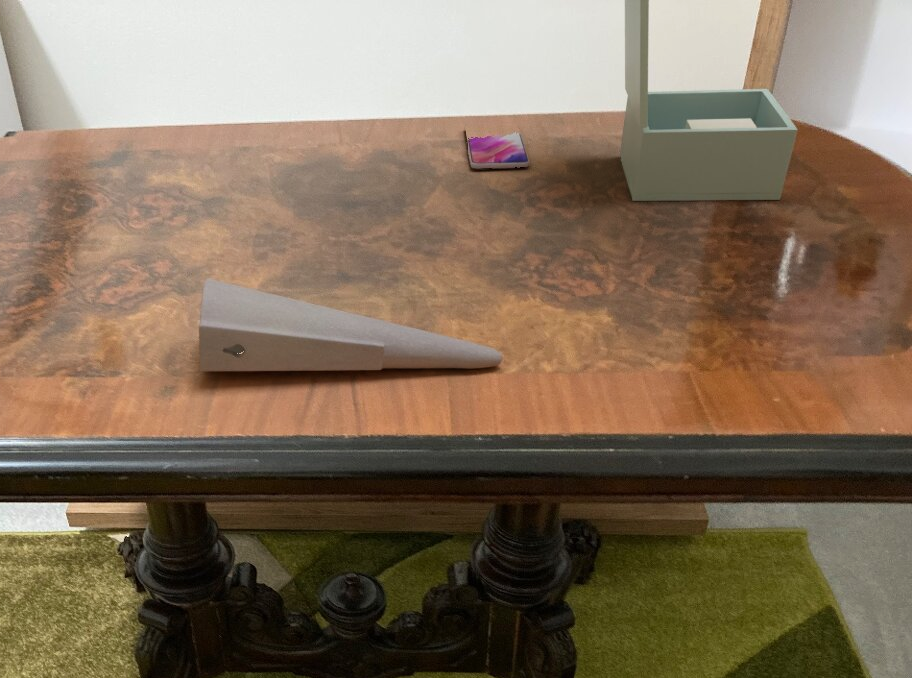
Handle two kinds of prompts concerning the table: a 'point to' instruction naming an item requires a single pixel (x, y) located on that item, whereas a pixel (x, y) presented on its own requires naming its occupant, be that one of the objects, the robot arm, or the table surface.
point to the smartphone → (498, 152)
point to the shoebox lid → (637, 57)
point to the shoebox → (707, 147)
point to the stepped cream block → (719, 123)
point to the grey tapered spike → (316, 337)
